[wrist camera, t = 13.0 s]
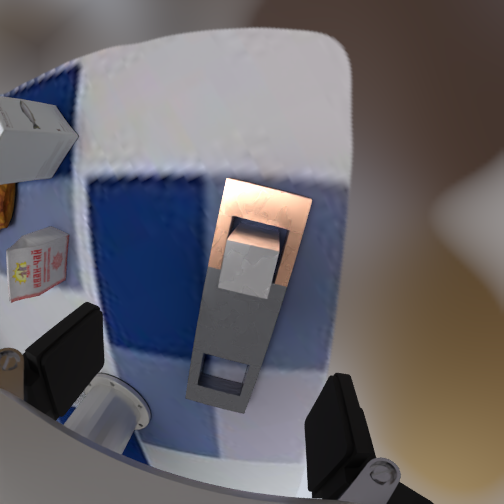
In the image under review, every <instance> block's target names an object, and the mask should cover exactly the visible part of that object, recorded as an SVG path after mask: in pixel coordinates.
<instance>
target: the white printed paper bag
mask: <svg viewBox="0 0 504 504" xmlns="http://www.w3.org/2000/svg"><path fill="white" fill-rule="evenodd" d="M68 241H69V234H67V233H65V232H63V231H60V230H58V229H56V228H54V227H52V226H50V227H47V228H44V229H41V230H38V231H35V232H32V233H30V234H27V235H24V236H22V237H21V238H20V239H19V240H18V241H17V242H16V243H15V244H14V245H12V246H11V247H10V248H9V249H7V250H6V251H7V278H8V292H9V302H10V301H11V303H12V302H14V301H17V300H21V299H25V298H30V297H35V296H39V295H41V294H43V293H44V292H46V291H47V290H49V289H51V288H52V287H54V286H56V285H57V284H59V283H61V282H62V281H64V280H66V265H67V252H68Z"/></svg>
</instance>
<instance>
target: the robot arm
mask: <svg viewBox="0 0 504 504" xmlns="http://www.w3.org/2000/svg"><path fill="white" fill-rule="evenodd" d="M103 365H104V343H103V314H102V312H101V311H100V308H99V307H98V306H96V305H94V304H91V303H89V302H85V303H84V304H82V305H81V306H80V307H78V308H77V309H76V310H75V311H73V312H72V313H71V314H69V315H68V316H67V317H65V318H64V319H63V320H62V321H60V322H59V323H58V324H57V325H55V326H54V327H53V328H51V329H50V330H49V331H48V332H46V333H45V334H44V335H43V336H42V337H40V338H39V339H38V340H37V341H35V342H34V343H33V344H32V345H31V346H29V347H28V348H27V349H26V350H25V353H24V354H23V355H22V354H21V352H19V351H18V350H16V349H14V348H3V349H0V504H433V503H432V502H431V501H430V500H428V499H426V498H425V497H423V496H421V495H420V494H418V493H416V492H415V491H413V490H412V489H410V488H408V487H407V486H405V485H404V484H402V483H400V482H399V481H400V478H401V473H400V470H399V468H398V466H397V465H396V464H395V463H394V462H392V461H391V460H389V459H386V458H376V456H375V452H374V448H373V444H372V440H371V437H370V433H369V430H368V426H367V423H366V419H365V416H364V412H363V410H362V408H360V406H359V402H358V399H357V395H356V392H355V389H354V385H353V382H352V379H351V376H350V375H348V374H342V373H335V374H334V376H329V378H328V380H327V382H326V384H325V386H324V387H323V389H322V391H321V393H320V395H319V397H318V398H317V400H316V402H315V404H314V406H313V407H312V409H311V411H310V413H309V414H308V416H307V418H306V420H305V441H306V459H307V480H308V490H309V491H311V492H312V498H322V499H310V498H295V497H285V496H276V495H267V494H260V493H253V492H247V491H241V490H235V489H230V488H225V487H221V486H216V485H212V484H208V483H204V482H200V481H196V480H192V479H189V478H185V477H182V476H178V475H175V474H172V473H169V472H166V471H163V470H160V469H157V468H154V467H151V466H148V465H146V464H143V463H141V462H138V461H135V460H133V459H130V458H128V457H126V456H123V455H121V454H122V452H123V450H124V449H125V447H126V445H127V443H128V441H129V439H130V437H131V435H132V433H133V431H134V430H138V429H142V428H145V427H146V426H147V425H148V423H149V421H150V418H151V413H150V410H149V407H148V406H147V404H146V402H145V401H144V399H143V398H142V397H141V396H140V395H139V394H138V393H137V392H136V391H135V390H134V389H133V388H131V387H130V386H129V385H127V384H126V383H124V382H123V381H121V380H119V379H117V378H115V377H112V376H109V375H106V374H98V372H99V371H100V370H101V369H102V367H103ZM83 391H85V395H86V396H85V397H84V399H83V400H82V401H81V403H80V404H79V405H78V407H77V408H76V409H75V410H74V412H73V413H72V414H71V416H70V417H69V418H68V420H67V421H66V422H65V424H64V425H62V424H60V423H59V422H57V421H56V420H57V419H58V418H59V416H61V417H62V416H64V415H65V414H66V412H67V411H68V410H69V408H70V407H71V406H72V405H73V403H74V402H75V401H76V400H77V398H78V397H79V396H80V395H81V393H82V392H83ZM45 414H46V415H45Z"/></svg>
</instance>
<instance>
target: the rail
mask: <svg viewBox="0 0 504 504" xmlns="http://www.w3.org/2000/svg"><path fill="white" fill-rule="evenodd" d="M311 203H312V199H311V198H309V197H306V196H302V195H298V194H295V193H291V192H287V191H283V190H280V189H276V188H272V187H268V186H264V185H260V184H256V183H251V182H247V181H243V180H239V179H234V178H227V180H226V185H225V189H224V193H223V198H222V202H221V207H220V211H219V216H218V221H217V225H216V230H215V235H214V240H213V244H212V249H211V254H210V259H209V264H208V269H207V274H206V280H205V285H204V290H203V295H202V301H201V306H200V312H199V317H198V323H197V329H196V335H195V340H194V346H193V352H192V359H191V365H190V371H189V378H188V384H187V391H186V399H190V400H193V401H196V402H200V403H203V404H207V405H211V406H214V407H218V408H222V409H226V410H230V411H234V412H239V413H243V414H244V412H245V410H246V407H247V404H248V402H249V399H250V396H251V393H252V391H253V388H254V385H255V382H256V379H257V377H258V374H259V371H260V368H261V365H262V362H263V359H264V356H265V353H266V350H267V348H268V345H269V342H270V339H271V336H272V333H273V329H274V326H275V323H276V320H277V317H278V314H279V311H280V308H281V305H282V302H283V298H284V295H285V292H286V289H287V285H288V282H289V279H290V276H291V272H292V269H293V266H294V262H295V259H296V256H297V252H298V249H299V245H300V242H301V238H302V235H303V231H304V228H305V224H306V221H307V217H308V214H309V210H310V206H311ZM235 216H237V217H241V218H245V219H249V220H253V221H257V222H261V223H265V224H269V225H273V226H276V227H280V228H284V229H288V231H287V234H286V238H285V242H284V245H283V249H282V252H281V256H280V260H279V263H278V267H277V270H276V274H275V275H273V279H272V283H271V286H270V290H269V294H268V298H267V299H265V298H260V297H256V296H251V295H247V294H243V293H238V292H234V291H230V290H226V289H222V288H218V285H219V279H220V274H221V268H222V263H223V258H224V252H225V247H226V242H227V239H228V238H229V236H230V235H231V232H232V227H233V223H234V219H235ZM205 354H209V355H213V356H217V357H220V358H224V359H228V360H232V361H236V362H240V363H244V364H248V367H247V370H246V373H245V377H244V380H243V383H237V382H233V381H229V380H225V379H222V378H218V377H214V376H211V375H207V374H203V373H202V370H203V365H204V359H205Z"/></svg>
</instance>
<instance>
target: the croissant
mask: <svg viewBox="0 0 504 504" xmlns="http://www.w3.org/2000/svg"><path fill="white" fill-rule="evenodd" d="M14 200H15V183H9V184H2V185H0V229H2V228H7V227H8V225H9V222H10V220H11V218H12V213H13V208H14Z"/></svg>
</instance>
